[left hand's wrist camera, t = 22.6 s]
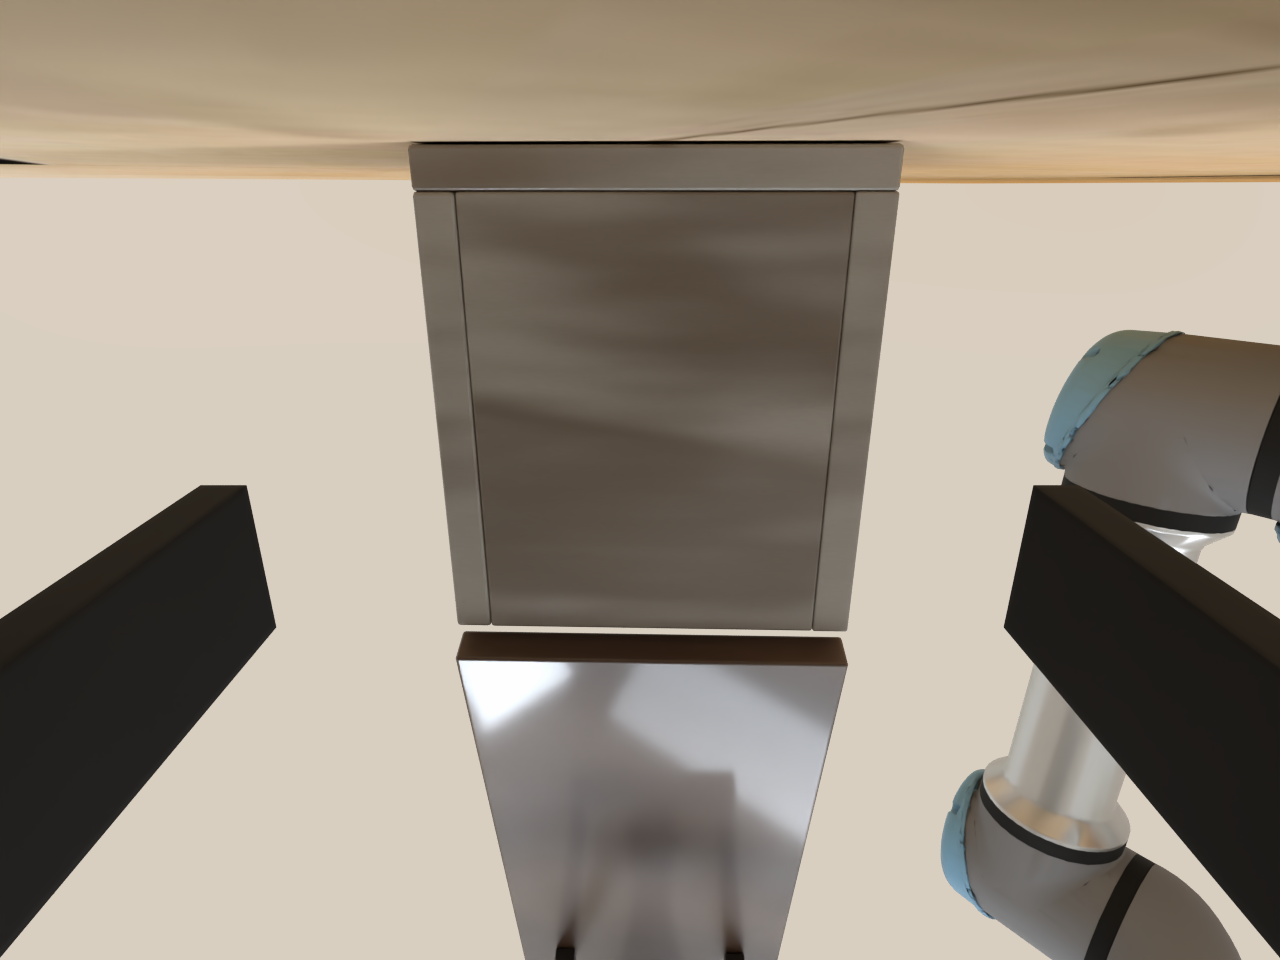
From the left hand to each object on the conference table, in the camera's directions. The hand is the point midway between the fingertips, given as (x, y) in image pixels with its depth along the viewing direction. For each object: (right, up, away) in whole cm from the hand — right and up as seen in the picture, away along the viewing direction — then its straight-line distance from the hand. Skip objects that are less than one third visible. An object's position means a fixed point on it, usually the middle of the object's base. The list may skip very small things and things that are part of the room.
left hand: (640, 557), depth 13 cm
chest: (0, +11, +10) cm, 14 cm away
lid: (0, -10, +11) cm, 15 cm away
